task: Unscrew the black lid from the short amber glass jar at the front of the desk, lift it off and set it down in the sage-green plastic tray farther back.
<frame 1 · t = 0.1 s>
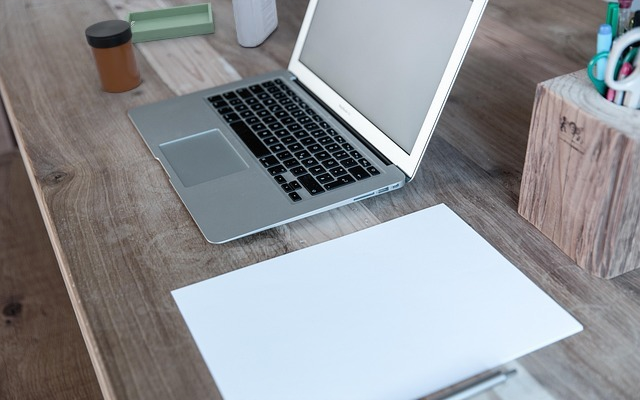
lid: (108, 30, 103), point 8 cm above the table, screwed on, not yet turned
jar: (121, 83, 108), on the table
tray: (170, 27, 126), on the table
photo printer: (259, 37, 120), on the table
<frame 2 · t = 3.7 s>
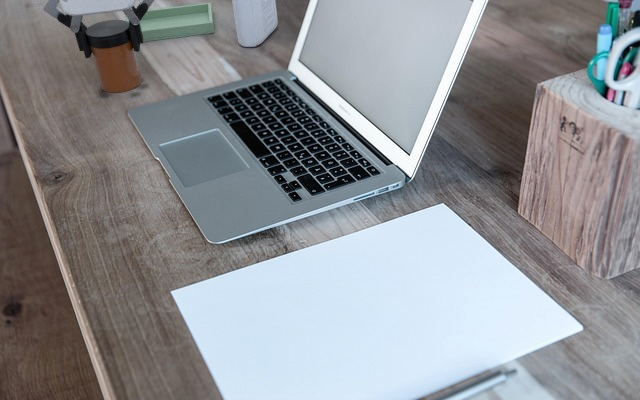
hand: (113, 50, 105), 5 cm above the table, tool pointing down, fingers closed on lid, 6 cm apart
lid: (108, 30, 103), point 8 cm above the table, screwed on, not yet turned, touching gripper
everything else where it was.
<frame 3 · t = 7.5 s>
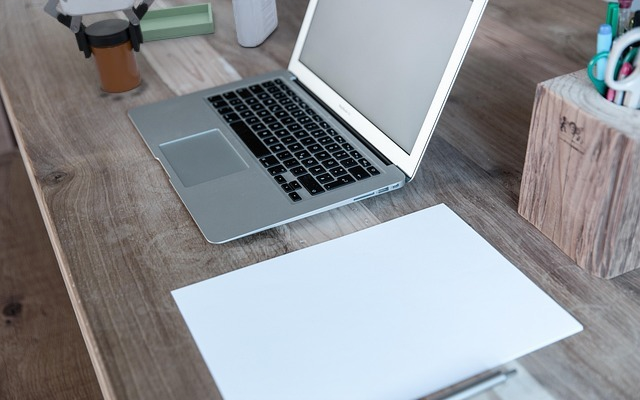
hand: (113, 50, 105), 5 cm above the table, tool pointing down, fingers closed on lid, 6 cm apart
lid: (107, 29, 103), point 9 cm above the table, turned 99° so far, risen 0.1 cm, still on its thread, touching gripper
everything else where it was.
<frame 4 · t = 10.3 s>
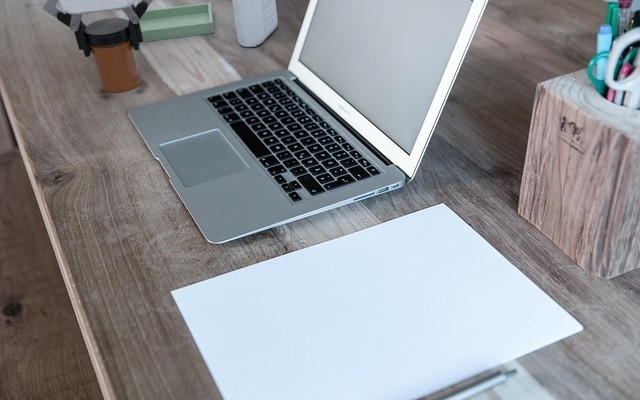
hand: (112, 49, 105), 6 cm above the table, tool pointing down, fingers closed on lid, 6 cm apart
lid: (107, 28, 103), point 9 cm above the table, turned 197° so far, risen 0.3 cm, still on its thread, touching gripper
everything else where it was.
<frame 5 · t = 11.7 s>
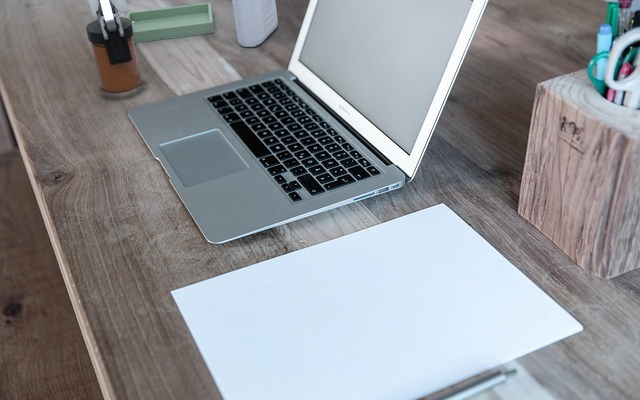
hand: (118, 52, 105), 5 cm above the table, tool pointing down, fingers closed on lid, 6 cm apart
lid: (109, 27, 103), point 9 cm above the table, turned 296° so far, risen 0.4 cm, still on its thread, touching gripper
jar: (121, 83, 108), on the table, touching gripper
everything else where it was.
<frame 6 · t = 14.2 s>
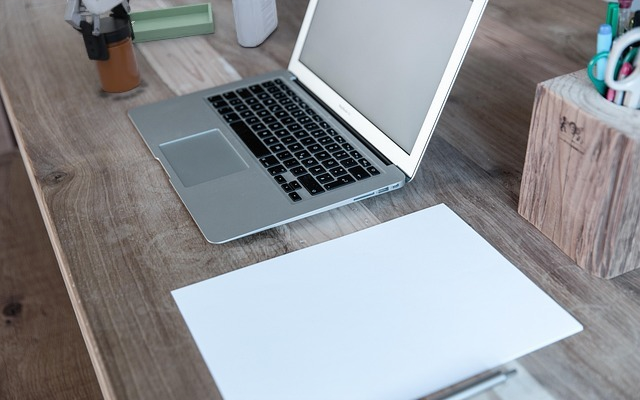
hand: (112, 48, 105), 6 cm above the table, tool pointing down, fingers closed on lid, 6 cm apart
lid: (107, 27, 103), point 9 cm above the table, turned 359° so far, risen 0.5 cm, still on its thread, touching gripper
jar: (121, 83, 108), on the table
everything else where it was.
when the fingers open (2 cm above the table, at t = 22.3 s): lid drops 4 cm, resting on tray.
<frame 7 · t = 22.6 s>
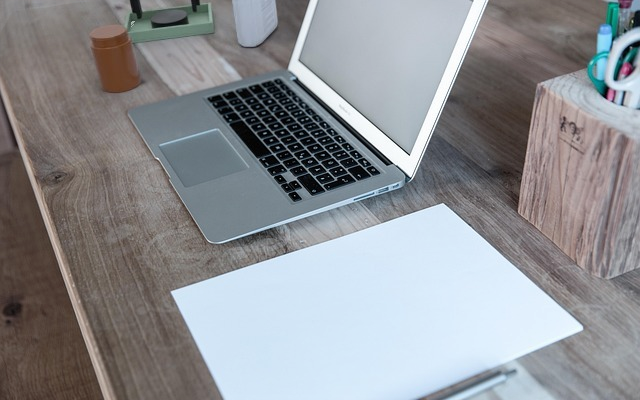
hand: (167, 13, 124), 3 cm above the table, tool pointing down, fingers open, 9 cm apart
lid: (169, 18, 125), point 2 cm above the table, off its thread, touching tray
everything else where it was.
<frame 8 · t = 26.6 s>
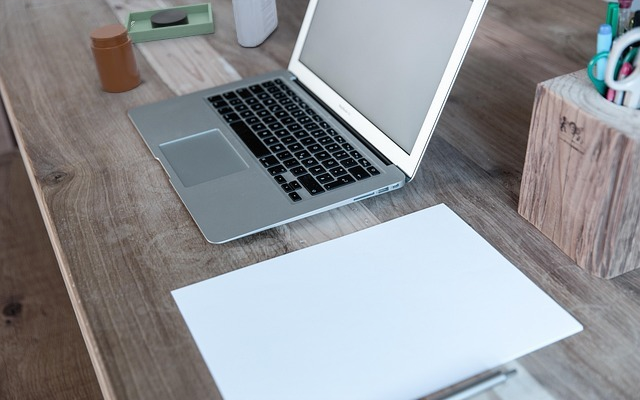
nothing on the table moved.
at the end: lid came off its thread; lid inside the target area in the tray (0.1 cm from its centre), point 1.7 cm above the tray's base; the gripper is holding nothing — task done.
